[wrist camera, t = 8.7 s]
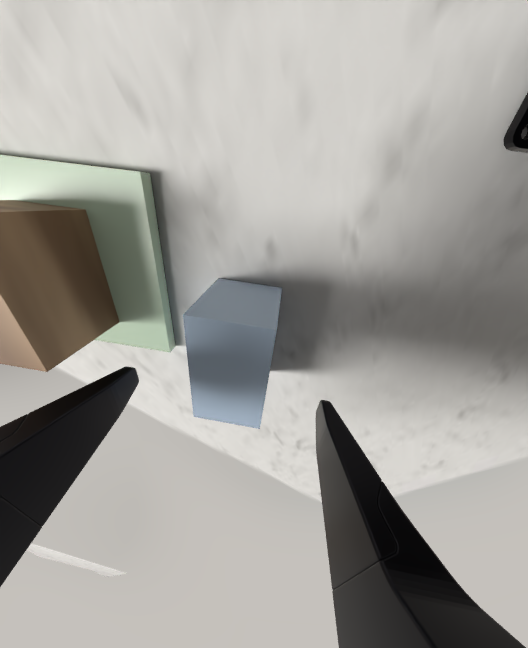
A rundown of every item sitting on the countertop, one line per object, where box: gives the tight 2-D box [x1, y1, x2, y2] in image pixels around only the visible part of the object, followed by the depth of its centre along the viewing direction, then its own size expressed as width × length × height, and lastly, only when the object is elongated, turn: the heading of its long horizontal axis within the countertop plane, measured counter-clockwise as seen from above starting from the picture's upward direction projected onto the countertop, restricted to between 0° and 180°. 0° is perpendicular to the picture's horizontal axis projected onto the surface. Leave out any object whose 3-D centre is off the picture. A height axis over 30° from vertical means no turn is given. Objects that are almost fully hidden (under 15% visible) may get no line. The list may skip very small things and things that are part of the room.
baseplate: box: [0, 155, 175, 352], centre depth 13 cm, size 11×11×1 cm
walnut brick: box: [0, 200, 119, 372], centre depth 11 cm, size 4×7×5 cm, turn 174°
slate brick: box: [183, 278, 282, 429], centre depth 13 cm, size 4×7×5 cm, turn 173°
